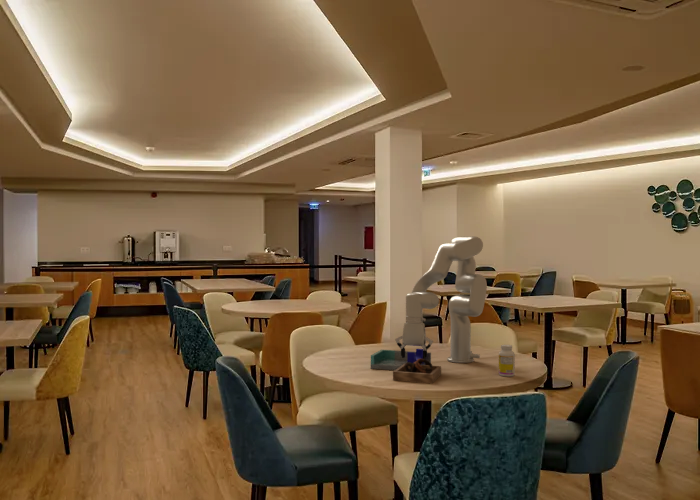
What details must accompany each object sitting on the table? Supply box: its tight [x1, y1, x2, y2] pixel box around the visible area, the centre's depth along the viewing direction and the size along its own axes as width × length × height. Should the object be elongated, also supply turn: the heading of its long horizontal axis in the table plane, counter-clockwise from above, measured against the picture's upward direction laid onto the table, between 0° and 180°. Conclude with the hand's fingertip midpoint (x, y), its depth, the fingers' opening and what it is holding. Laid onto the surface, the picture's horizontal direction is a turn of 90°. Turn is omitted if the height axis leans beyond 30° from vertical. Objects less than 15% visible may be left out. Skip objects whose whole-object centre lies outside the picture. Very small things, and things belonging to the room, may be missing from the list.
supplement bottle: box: [498, 344, 516, 378], centre depth 262 cm, size 7×7×13 cm
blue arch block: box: [407, 348, 424, 363], centre depth 276 cm, size 12×4×6 cm, turn 153°
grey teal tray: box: [370, 349, 432, 371], centre depth 279 cm, size 24×17×6 cm
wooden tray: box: [392, 364, 442, 384], centre depth 257 cm, size 16×18×4 cm
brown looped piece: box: [404, 359, 434, 374], centre depth 260 cm, size 12×10×8 cm
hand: (413, 358), depth 277 cm, fingers open, 9 cm apart
